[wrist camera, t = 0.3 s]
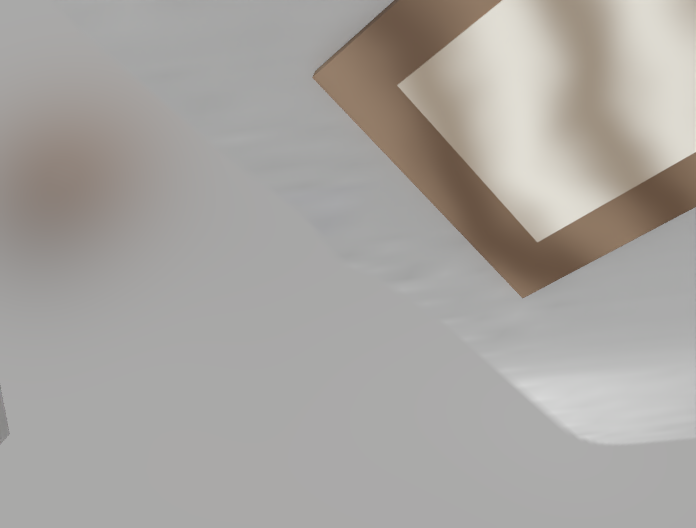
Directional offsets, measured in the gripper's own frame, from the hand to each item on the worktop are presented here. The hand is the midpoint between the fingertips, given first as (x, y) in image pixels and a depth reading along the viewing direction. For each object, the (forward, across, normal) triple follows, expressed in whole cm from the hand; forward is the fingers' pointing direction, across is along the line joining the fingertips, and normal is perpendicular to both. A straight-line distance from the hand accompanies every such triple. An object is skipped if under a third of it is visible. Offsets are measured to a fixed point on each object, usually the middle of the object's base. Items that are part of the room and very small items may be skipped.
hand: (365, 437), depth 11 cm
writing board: (+26, +7, +2) cm, 27 cm away
